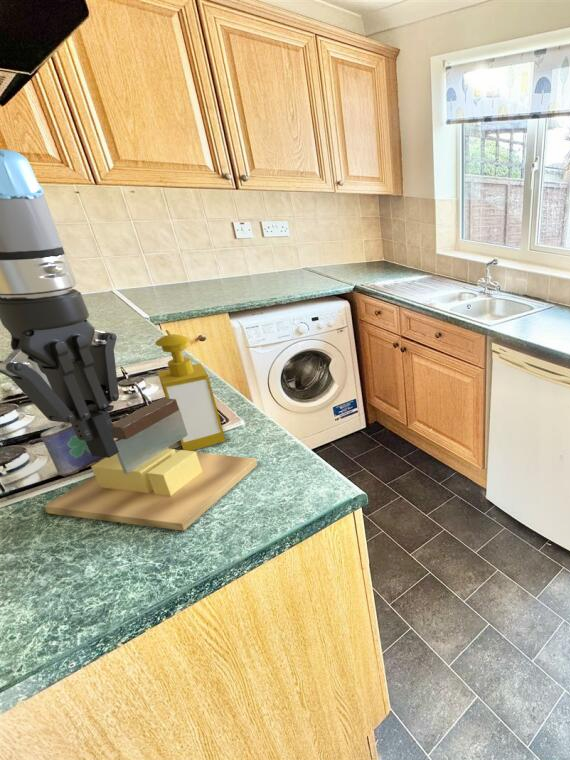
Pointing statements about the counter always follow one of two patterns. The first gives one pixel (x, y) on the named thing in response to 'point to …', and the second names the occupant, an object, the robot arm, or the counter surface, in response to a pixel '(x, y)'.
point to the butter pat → (174, 472)
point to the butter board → (157, 497)
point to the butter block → (137, 480)
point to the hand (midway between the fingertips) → (105, 453)
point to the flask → (67, 449)
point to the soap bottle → (190, 395)
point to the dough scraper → (148, 433)
